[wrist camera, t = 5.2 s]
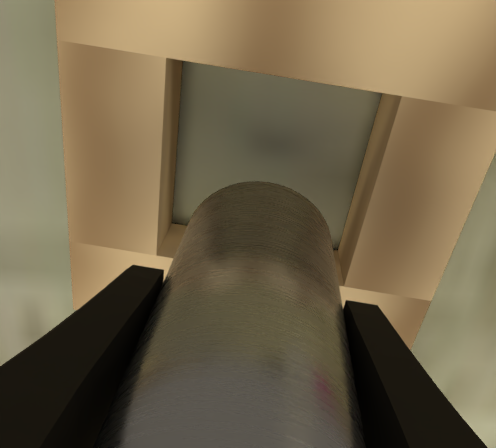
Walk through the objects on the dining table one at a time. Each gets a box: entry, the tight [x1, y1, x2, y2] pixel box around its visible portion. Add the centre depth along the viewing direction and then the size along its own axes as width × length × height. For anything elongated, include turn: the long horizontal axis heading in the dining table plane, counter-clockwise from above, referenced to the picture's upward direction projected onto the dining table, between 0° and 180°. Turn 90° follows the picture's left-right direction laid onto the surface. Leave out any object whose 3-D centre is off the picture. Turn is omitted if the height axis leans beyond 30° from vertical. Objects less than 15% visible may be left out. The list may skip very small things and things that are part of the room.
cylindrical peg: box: [93, 181, 366, 448], centre depth 7 cm, size 4×4×8 cm
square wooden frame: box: [55, 0, 496, 350], centre depth 16 cm, size 14×14×2 cm
